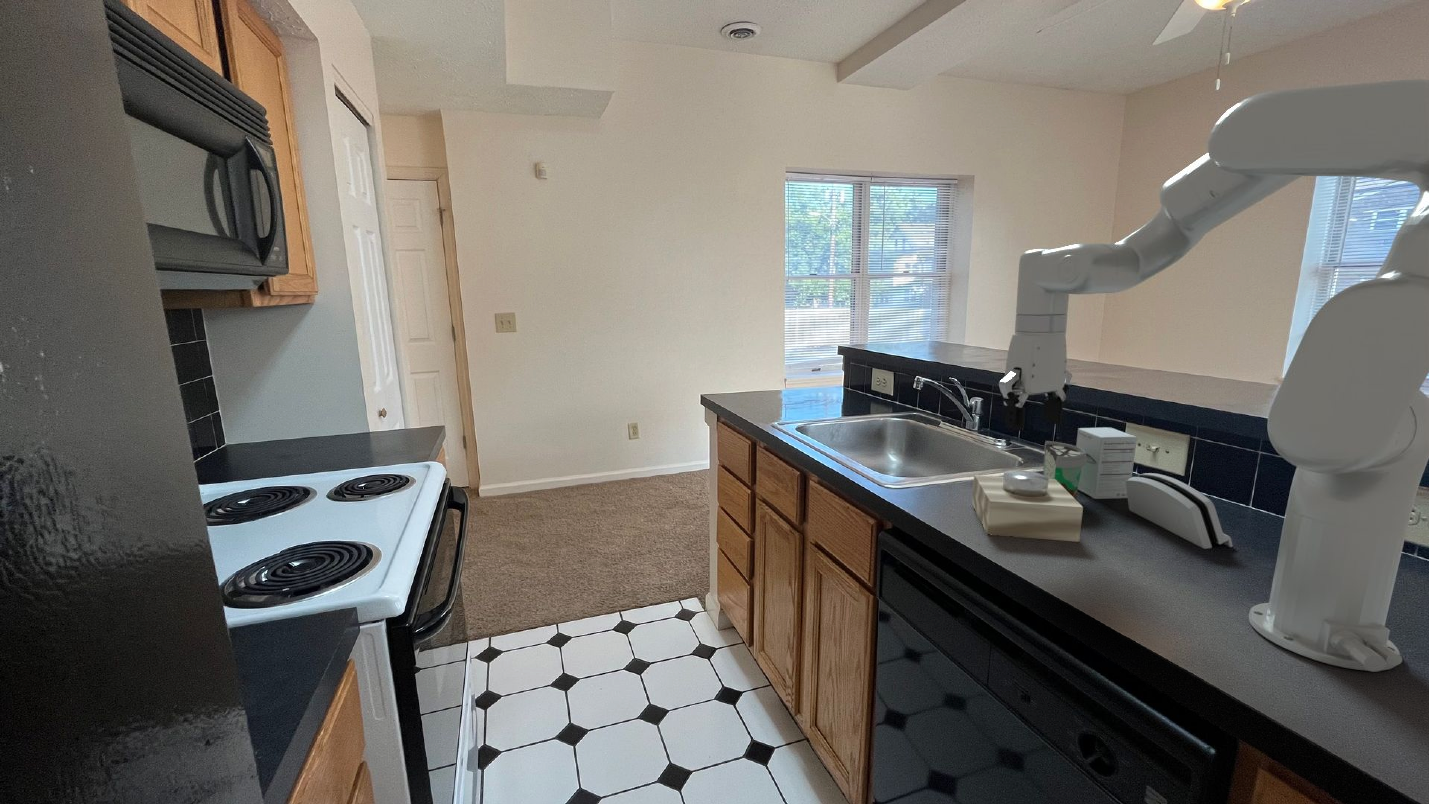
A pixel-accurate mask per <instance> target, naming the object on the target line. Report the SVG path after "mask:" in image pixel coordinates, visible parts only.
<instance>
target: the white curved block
mask: <svg viewBox="0 0 1429 804" xmlns="http://www.w3.org/2000/svg"><path fill="white" fill-rule="evenodd" d="M1126 489H1127V496H1128V498H1127V504H1128V509H1129V510H1128V511H1130V512H1132V513H1134V514H1136V515H1138V516H1140V517H1142V518H1143V519H1146V520H1148V521H1149V522H1151V523H1153V524H1155V525H1157V526H1159V527H1161V528H1164V529H1165V530H1166V531H1169V532H1171V533H1173V534H1175V535H1177V536H1179V537H1181V538H1183V539H1185V540H1186V541H1188V542H1190V543H1192V544H1194V545H1196V546H1198V547H1199V548H1201V549H1212V548H1213V546H1212V545H1213V543H1214V544H1218V545H1222V544H1223V545H1225V546H1227V547H1229V548H1232V547H1234V546H1233V542H1232V537H1231V536H1230V535H1227V534H1225V533H1224V532H1223V529H1222V525H1221V523H1220V519H1219V517H1218V514H1217V510H1216V507H1215V504H1214V503H1213V501H1212V500H1211V499H1209V498H1208V497H1207V496H1205V495H1204V494H1202V493H1201V492H1199V491H1198V490H1196V489H1195V488H1193V487H1191V486H1190V485H1188V484H1187V483H1184V482H1183V481H1180V480H1178V479H1176V478H1174V477H1171V476H1167V475H1164V474H1160V473H1152V472H1148V473H1147V472H1145V473H1141V474H1138V475H1137V476H1132V477H1131V478H1130V479H1128V480H1127V481H1126Z"/></svg>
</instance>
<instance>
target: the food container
mask: <svg viewBox="0 0 1429 804" xmlns="http://www.w3.org/2000/svg"><path fill="white" fill-rule="evenodd" d="M1044 442H1045V443H1044V448H1043V449H1044V455H1043V456H1044V457H1043V466H1042V467H1043V468H1042V469H1043V470H1042V475H1045V476H1046V477H1048V479H1056V480H1057V481H1058V482H1059V483H1060V484H1061V485H1062V486H1063V487H1064V488H1065V489H1066V490H1067V491H1068V492H1069V493H1070V494H1071V495H1072V496H1073V497H1074V498H1075V500H1076V498H1077V494H1078V485H1079V480H1080V475H1081V470H1082V466H1084V465H1086V464H1087V459H1086V454H1085V452H1084V450H1083V449H1081V448H1079V447H1076V445H1073V444H1069V443H1065V442H1064V443H1063V442H1060V441H1059V442H1058V441H1050V440H1045V441H1044Z"/></svg>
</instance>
